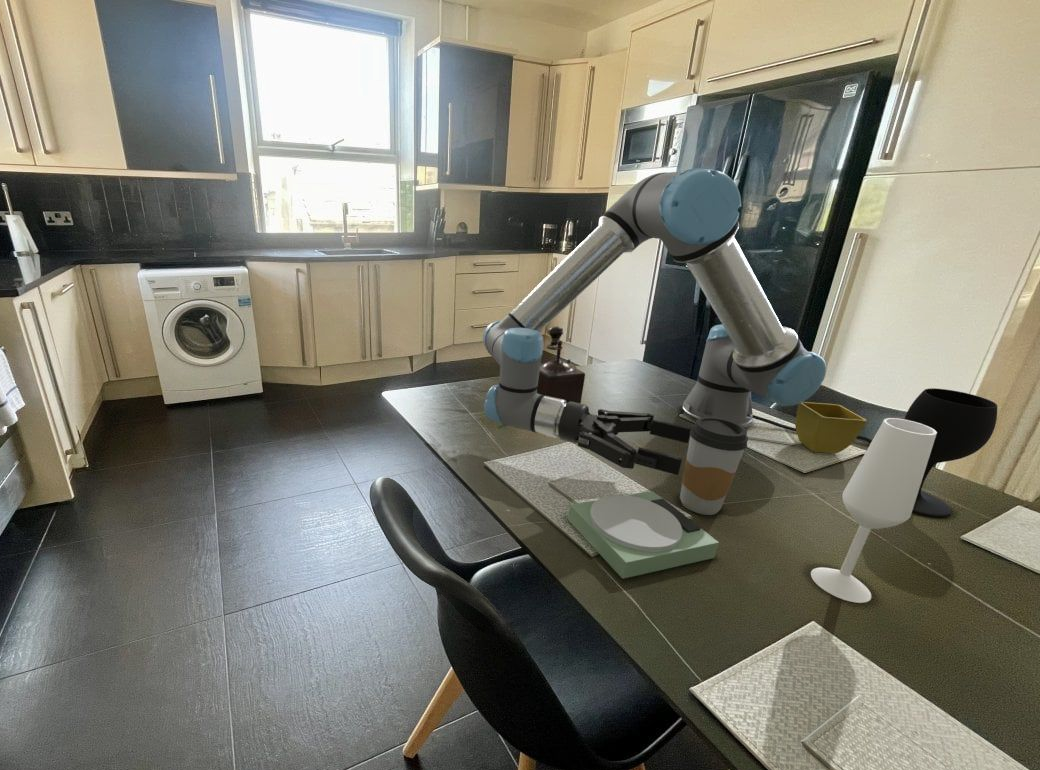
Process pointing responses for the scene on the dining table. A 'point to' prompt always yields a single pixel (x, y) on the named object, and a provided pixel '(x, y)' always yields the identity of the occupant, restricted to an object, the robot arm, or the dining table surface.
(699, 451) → the coffee cup
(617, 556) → the kitchen scale
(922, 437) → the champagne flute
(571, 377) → the brown coffee grinder
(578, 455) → the dining table surface
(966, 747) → the dining table surface
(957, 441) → the wine glass
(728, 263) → the robot arm
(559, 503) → the dining table surface
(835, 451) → the flower pot
